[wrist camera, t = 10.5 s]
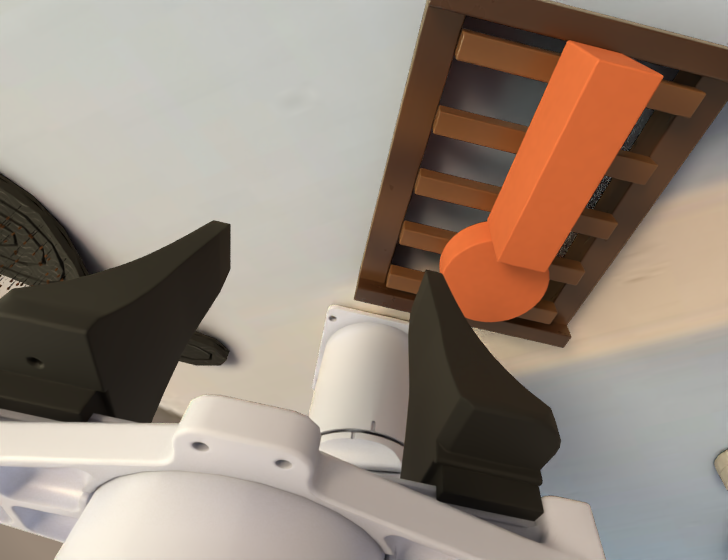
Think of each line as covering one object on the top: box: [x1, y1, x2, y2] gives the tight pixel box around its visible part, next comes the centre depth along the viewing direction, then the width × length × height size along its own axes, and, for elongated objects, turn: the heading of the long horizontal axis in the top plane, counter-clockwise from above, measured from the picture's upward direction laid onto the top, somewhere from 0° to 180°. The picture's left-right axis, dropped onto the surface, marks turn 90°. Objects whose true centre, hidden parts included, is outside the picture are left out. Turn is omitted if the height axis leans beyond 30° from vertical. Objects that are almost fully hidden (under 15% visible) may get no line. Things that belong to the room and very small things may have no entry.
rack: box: [354, 0, 728, 348], centre depth 21 cm, size 16×13×3 cm
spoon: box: [440, 40, 663, 322], centre depth 19 cm, size 13×5×4 cm, turn 168°
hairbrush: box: [0, 174, 229, 365], centre depth 28 cm, size 8×4×25 cm
